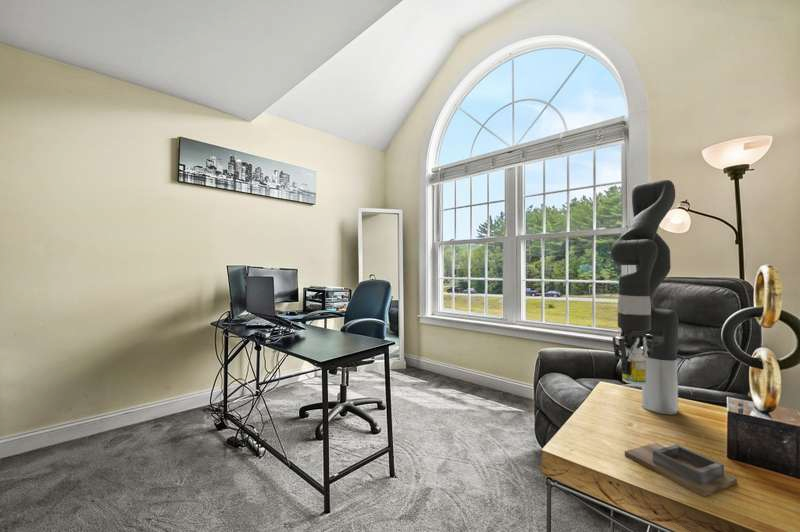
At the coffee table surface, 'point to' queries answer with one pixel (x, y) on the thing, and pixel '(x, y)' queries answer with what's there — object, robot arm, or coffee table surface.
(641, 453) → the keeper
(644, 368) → the supplement bottle
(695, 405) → the coffee table surface
